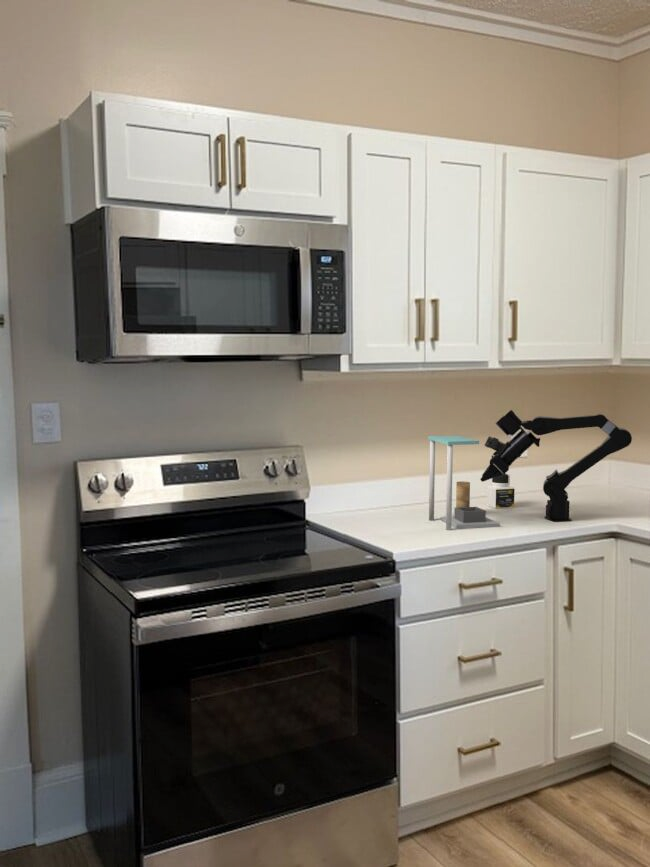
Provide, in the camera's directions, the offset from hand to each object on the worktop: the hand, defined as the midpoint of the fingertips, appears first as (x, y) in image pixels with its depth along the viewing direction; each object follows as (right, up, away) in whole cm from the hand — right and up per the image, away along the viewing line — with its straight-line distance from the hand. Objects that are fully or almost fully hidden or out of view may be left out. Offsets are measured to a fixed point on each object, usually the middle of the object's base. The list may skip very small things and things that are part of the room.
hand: (482, 478), depth 285 cm
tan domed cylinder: (-6, -12, +3) cm, 14 cm away
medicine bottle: (+10, -11, +19) cm, 24 cm away
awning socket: (-8, -14, -11) cm, 19 cm away
